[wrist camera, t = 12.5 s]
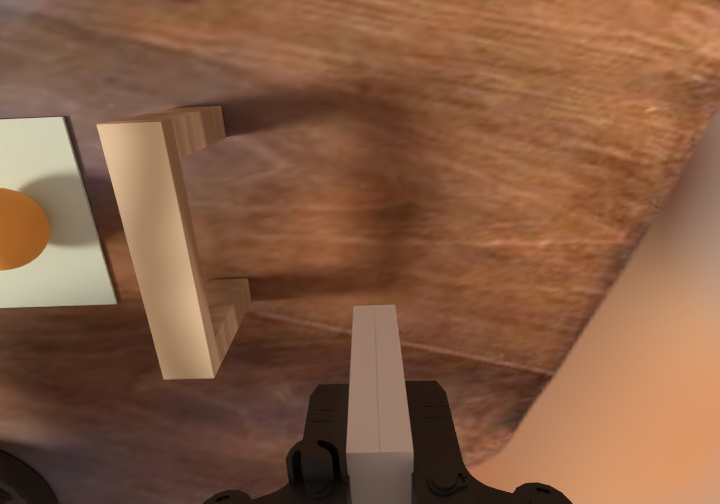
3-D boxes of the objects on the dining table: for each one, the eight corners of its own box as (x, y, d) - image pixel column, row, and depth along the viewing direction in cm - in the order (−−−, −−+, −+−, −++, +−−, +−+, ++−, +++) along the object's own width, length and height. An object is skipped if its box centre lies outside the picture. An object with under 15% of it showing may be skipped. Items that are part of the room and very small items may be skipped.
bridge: (221, 105, 29) (160, 121, 20) (251, 301, 34) (214, 378, 26) (175, 107, 29) (96, 124, 20) (213, 302, 34) (163, 379, 26)
